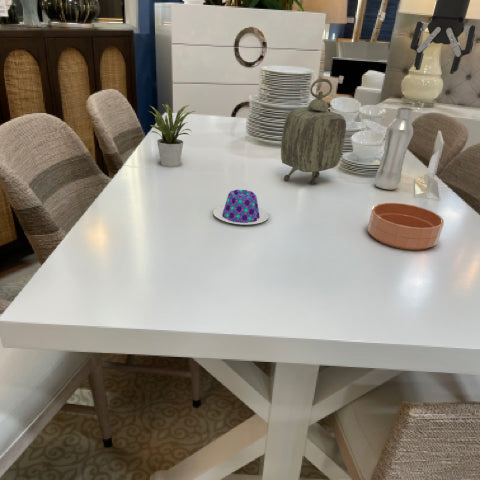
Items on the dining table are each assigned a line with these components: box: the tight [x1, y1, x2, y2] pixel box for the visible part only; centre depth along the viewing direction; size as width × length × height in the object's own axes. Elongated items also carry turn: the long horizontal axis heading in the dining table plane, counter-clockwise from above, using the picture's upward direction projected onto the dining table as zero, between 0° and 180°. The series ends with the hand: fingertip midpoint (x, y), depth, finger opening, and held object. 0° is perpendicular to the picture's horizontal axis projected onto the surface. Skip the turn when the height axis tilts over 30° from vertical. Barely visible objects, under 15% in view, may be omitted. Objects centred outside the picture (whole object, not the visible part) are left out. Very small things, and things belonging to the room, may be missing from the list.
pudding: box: [212, 189, 269, 226], centre depth 101 cm, size 12×12×5 cm
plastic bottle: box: [374, 106, 414, 191], centre depth 122 cm, size 6×7×20 cm
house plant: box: [148, 102, 195, 168], centre depth 128 cm, size 14×14×16 cm
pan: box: [367, 202, 445, 251], centre depth 98 cm, size 14×14×5 cm
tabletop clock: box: [280, 78, 347, 185], centre depth 120 cm, size 14×9×25 cm, turn 124°
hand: (434, 71), depth 119 cm, fingers open, 8 cm apart
